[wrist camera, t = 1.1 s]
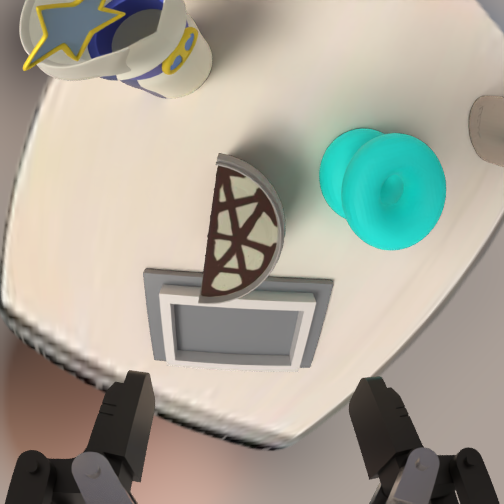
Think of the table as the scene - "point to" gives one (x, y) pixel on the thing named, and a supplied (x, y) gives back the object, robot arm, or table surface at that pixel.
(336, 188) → the donuts
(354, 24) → the table surface
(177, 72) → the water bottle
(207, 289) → the food container
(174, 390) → the table surface
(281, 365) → the tray
